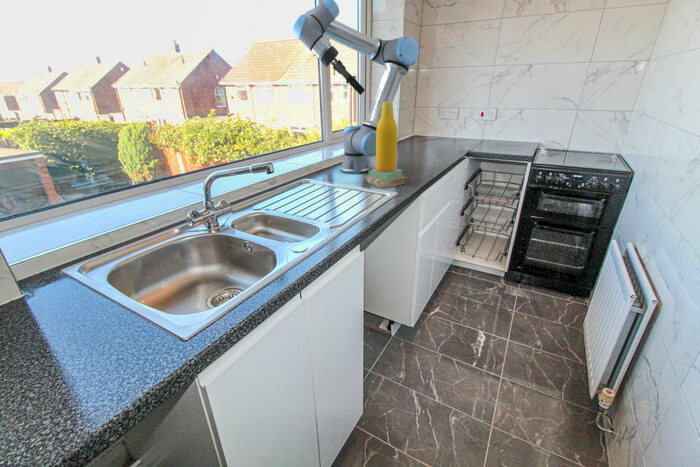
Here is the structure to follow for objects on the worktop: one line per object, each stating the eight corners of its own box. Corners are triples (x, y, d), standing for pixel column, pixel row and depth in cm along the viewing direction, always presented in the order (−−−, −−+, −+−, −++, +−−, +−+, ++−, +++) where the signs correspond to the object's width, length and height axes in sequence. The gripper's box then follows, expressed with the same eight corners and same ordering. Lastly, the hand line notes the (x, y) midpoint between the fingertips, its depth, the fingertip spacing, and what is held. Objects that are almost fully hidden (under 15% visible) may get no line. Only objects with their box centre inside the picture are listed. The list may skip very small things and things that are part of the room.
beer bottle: (398, 171, 148) (402, 102, 136) (379, 173, 146) (380, 102, 134) (391, 167, 156) (394, 101, 144) (373, 168, 154) (374, 102, 142)
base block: (365, 181, 155) (365, 175, 154) (387, 178, 161) (388, 171, 160) (382, 188, 145) (382, 181, 144) (405, 183, 151) (405, 177, 150)
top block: (368, 176, 152) (368, 170, 151) (383, 172, 159) (383, 166, 158) (387, 180, 145) (387, 174, 144) (402, 176, 152) (402, 169, 151)
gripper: (323, 62, 145) (357, 98, 151) (315, 57, 122) (355, 100, 128) (334, 48, 143) (368, 85, 148) (328, 40, 120) (369, 85, 125)
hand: (362, 92), depth 138 cm, fingers open, 13 cm apart
